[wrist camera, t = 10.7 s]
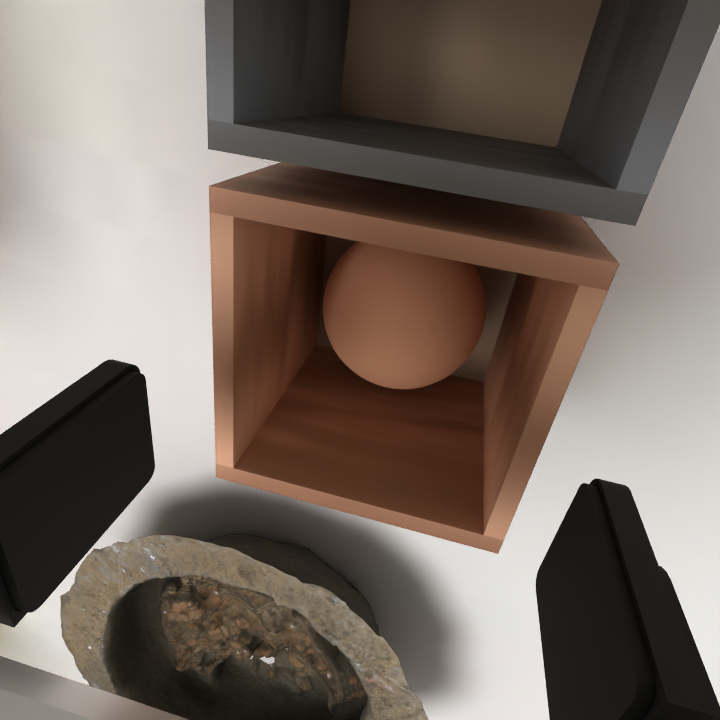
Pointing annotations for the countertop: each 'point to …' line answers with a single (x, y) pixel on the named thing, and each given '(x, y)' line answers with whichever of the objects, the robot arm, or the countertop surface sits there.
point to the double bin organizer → (425, 227)
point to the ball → (402, 314)
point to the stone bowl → (231, 633)
